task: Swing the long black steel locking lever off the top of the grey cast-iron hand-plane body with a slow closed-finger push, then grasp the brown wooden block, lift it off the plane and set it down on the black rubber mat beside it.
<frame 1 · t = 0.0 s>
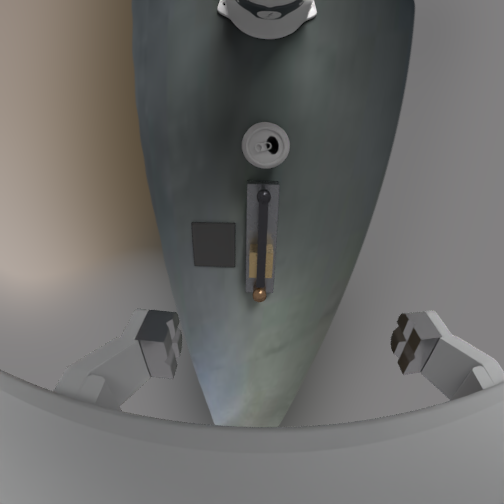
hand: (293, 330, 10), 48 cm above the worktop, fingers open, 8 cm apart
can: (264, 140, 52), on the worktop
plane body: (261, 237, 60), on the worktop
lever: (262, 241, 52), point 8 cm above the worktop, hinge at 0.0°
mat: (214, 244, 61), on the worktop
brown wooden block: (260, 256, 59), point 3 cm above the worktop, touching plane body
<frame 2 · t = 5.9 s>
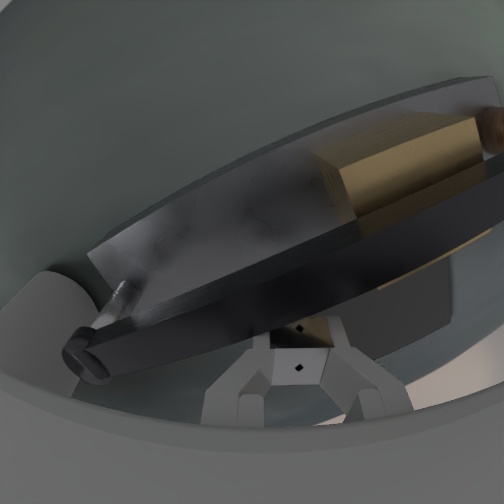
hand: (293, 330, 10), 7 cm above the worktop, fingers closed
can: (69, 304, 19), on the worktop
plane body: (314, 185, 15), on the worktop
lever: (281, 289, 8), point 8 cm above the worktop, hinge at 0.2°, touching gripper
mat: (388, 305, 18), on the worktop
brown wooden block: (386, 176, 11), point 3 cm above the worktop, touching plane body
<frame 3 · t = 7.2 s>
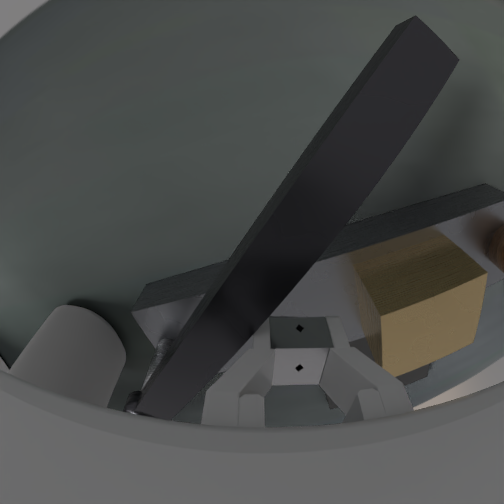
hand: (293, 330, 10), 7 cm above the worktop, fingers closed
can: (91, 333, 20), on the worktop
plane body: (340, 272, 17), on the worktop
lever: (232, 307, 8), point 8 cm above the worktop, hinge at 38.6°, touching gripper
mat: (378, 362, 21), on the worktop
brown wooden block: (403, 284, 14), point 3 cm above the worktop, touching plane body
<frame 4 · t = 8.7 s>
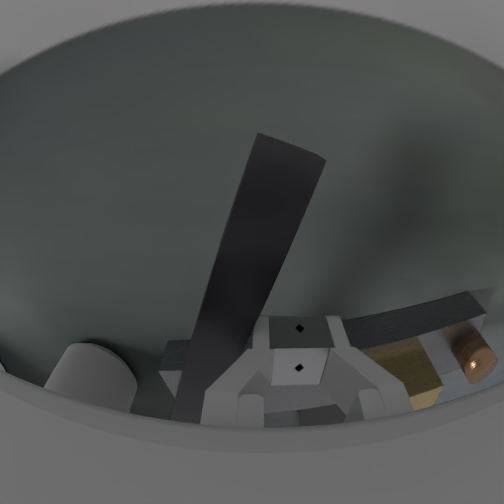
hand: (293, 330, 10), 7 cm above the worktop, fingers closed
can: (103, 364, 22), on the worktop
plane body: (332, 351, 20), on the worktop
lever: (197, 390, 10), point 8 cm above the worktop, hinge at 61.5°
mat: (348, 411, 24), on the worktop
brown wooden block: (380, 372, 17), point 3 cm above the worktop, touching plane body
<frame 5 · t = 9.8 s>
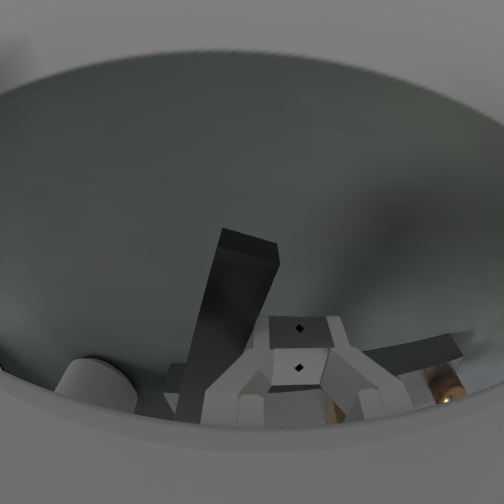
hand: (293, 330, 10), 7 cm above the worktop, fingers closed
can: (105, 377, 23), on the worktop
plane body: (319, 380, 22), on the worktop
lever: (190, 420, 12), point 8 cm above the worktop, hinge at 67.5°, touching gripper
brown wooden block: (361, 403, 19), point 3 cm above the worktop, touching plane body
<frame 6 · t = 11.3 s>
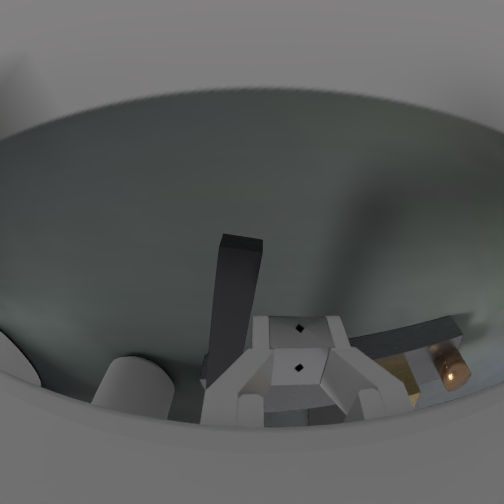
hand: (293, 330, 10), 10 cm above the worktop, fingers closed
can: (144, 373, 27), on the worktop
plane body: (336, 362, 25), on the worktop
lever: (220, 390, 15), point 8 cm above the worktop, hinge at 71.1°
mat: (349, 410, 29), on the worktop
brown wooden block: (373, 380, 22), point 3 cm above the worktop, touching plane body
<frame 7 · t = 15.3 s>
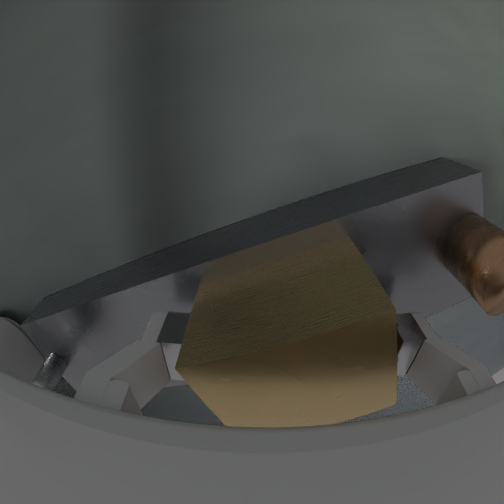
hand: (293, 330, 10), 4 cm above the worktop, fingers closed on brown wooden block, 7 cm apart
can: (22, 342, 18), on the worktop
plane body: (226, 289, 14), on the worktop
brown wooden block: (291, 310, 11), point 3 cm above the worktop, touching gripper, plane body
when the fingers open (3 cm above the worktop, at t = 21.1 s): brown wooden block drops 1 cm, resting on mat.
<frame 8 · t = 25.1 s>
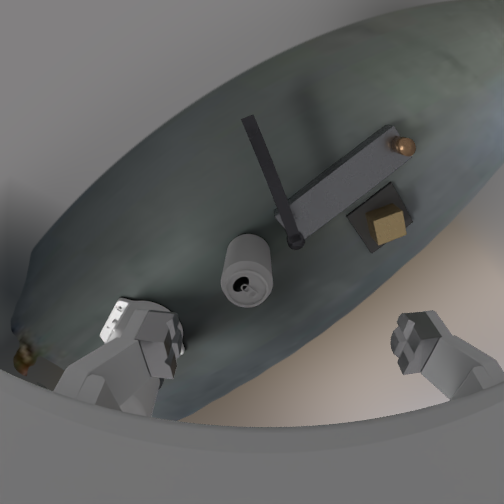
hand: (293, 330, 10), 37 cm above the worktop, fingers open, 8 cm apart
can: (248, 251, 50), on the worktop
plane body: (342, 180, 44), on the worktop
lever: (275, 185, 37), point 8 cm above the worktop, hinge at 71.1°
mat: (380, 218, 46), on the worktop
brown wooden block: (381, 219, 46), point 1 cm above the worktop, touching mat
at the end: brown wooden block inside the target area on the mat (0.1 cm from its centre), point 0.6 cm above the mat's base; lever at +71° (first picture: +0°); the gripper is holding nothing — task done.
